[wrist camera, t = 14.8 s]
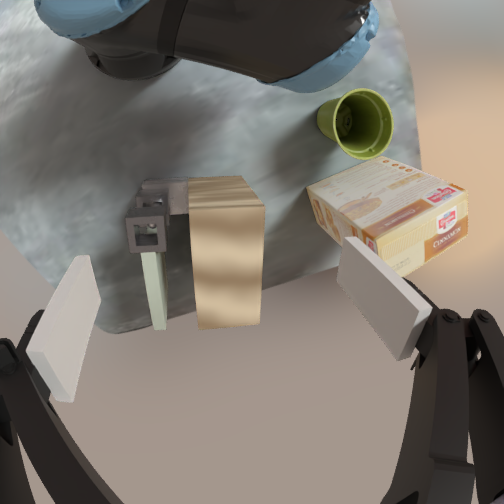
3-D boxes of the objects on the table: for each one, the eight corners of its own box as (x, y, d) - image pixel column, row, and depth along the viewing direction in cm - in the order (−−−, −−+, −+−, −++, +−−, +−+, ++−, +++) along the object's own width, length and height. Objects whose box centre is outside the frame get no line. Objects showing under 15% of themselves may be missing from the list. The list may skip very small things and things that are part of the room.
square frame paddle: (139, 190, 36) (125, 218, 28) (169, 188, 37) (163, 215, 29) (150, 286, 43) (144, 330, 35) (176, 284, 44) (175, 329, 36)
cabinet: (144, 180, 39) (126, 213, 27) (241, 174, 41) (265, 204, 29) (155, 274, 46) (148, 333, 34) (240, 267, 48) (259, 323, 36)
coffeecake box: (316, 224, 48) (381, 291, 31) (304, 185, 44) (374, 239, 27) (389, 191, 48) (468, 238, 31) (381, 154, 44) (469, 188, 27)
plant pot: (363, 95, 39) (396, 96, 31) (357, 151, 43) (389, 163, 36) (308, 85, 37) (335, 82, 30) (303, 146, 41) (329, 156, 34)
